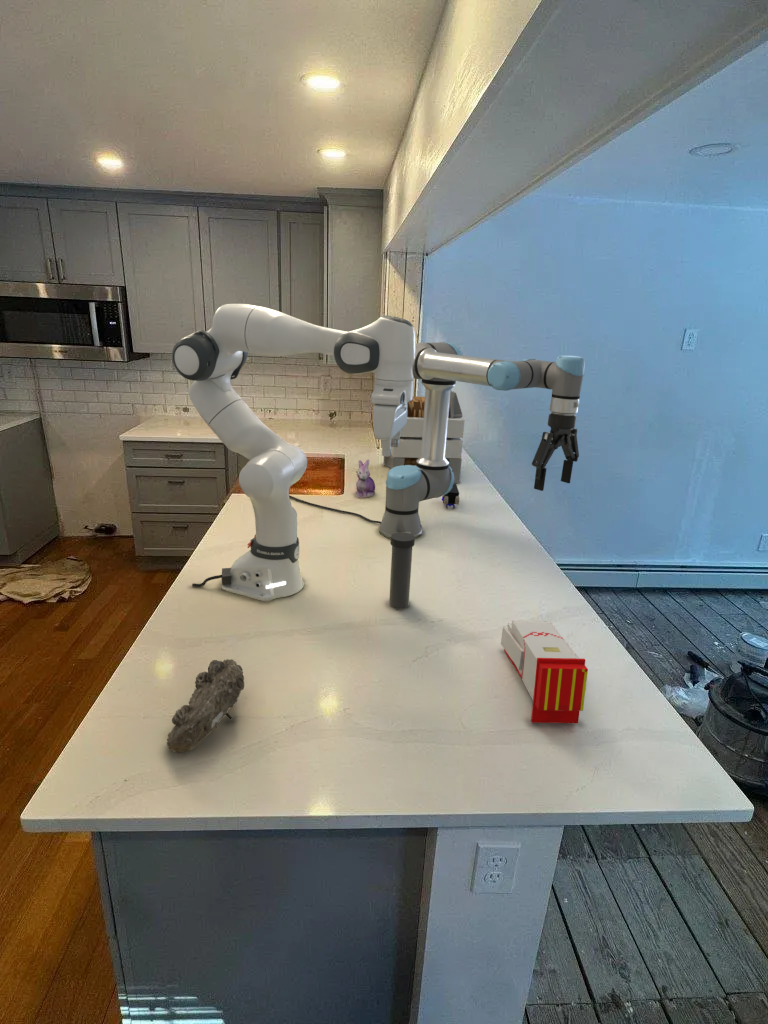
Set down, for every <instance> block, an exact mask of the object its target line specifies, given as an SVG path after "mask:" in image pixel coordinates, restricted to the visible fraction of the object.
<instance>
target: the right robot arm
mask: <svg viewBox="0 0 768 1024" xmlns="http://www.w3.org/2000/svg"><path fill="white" fill-rule="evenodd" d="M585 365H586V360H585V358H584V357H582V356H578V355H566V354H565V355H564V354H563V355H558V356H557V357H556V360H555V361H549V360H541V359H536V358H524V359H521V360H506V359H505V360H504V359H503V360H502V359H496V358H487V357H479V356H471V355H464V354H463V352H462V350H461V349H460V347H459V346H457V345H456V344H455V343H451V342H445V341H443V342H442V341H441V342H440V341H439V342H438V341H437V342H417V343H415V361H414V364H413V369H412V371H413V377H414V379H415V380H421V385H422V386H423V387H424V389H425V392H424V397H425V404H424V419H423V434H422V449H421V457H420V458H418V459H417V461H416V466H413V465H401V466H396V467H394V468H392V469H390V468H389V470H388V472H387V474H386V479H385V504H384V505H385V507H384V508H385V509H384V513H383V515H382V519H381V521H380V520H372V519H369V518H368V517H366V516H364V515H362V514H359V513H356V512H353V511H352V512H351V511H348V510H343V509H342V510H341V509H337V508H333V507H328V506H325V505H320V504H316V503H313V502H309V501H307V500H303V499H300V498H298V497H294V496H292V495H290V494H289V498H290V499H292V500H295V501H297V502H300V503H303V504H306V505H308V506H312V507H316V508H319V509H320V508H321V509H325V510H327V511H328V510H329V511H333V512H338V513H342V514H346V515H347V514H348V515H352V516H356V517H359V518H361V519H362V520H363V519H364V520H365V521H367V522H369V523H373V524H379V526H378V533H379V534H380V535H381V536H382V537H385V538H387V539H389V540H391V535H392V534H394V533H398V532H405V533H410V534H412V535H413V536H414V537H415V538H414V539H415V540H416V539H418V538H420V537H421V536H422V535H423V525H422V524H421V518H420V515H419V507H420V506H419V505H420V502H423V501H427V500H431V499H437V498H440V497H441V498H442V496H443V495H445V494H447V493H448V492H449V491H450V490H451V489H452V487H453V484H454V473H452V469H451V467H450V466H449V462H448V461H447V459H446V458H445V453H446V441H447V428H448V416H449V404H450V392H451V391H452V389H453V388H454V387H455V386H456V384H457V382H461V383H465V384H473V385H479V386H487V387H491V388H492V389H494V390H496V391H503V392H504V391H511V390H520V389H532V388H533V389H534V388H539V389H546V390H551V398H550V404H549V413H548V418H547V419H548V420H547V426H548V427H549V428H550V431H549V432H548V431H543V432H542V435H541V440H540V442H539V445H538V447H537V449H536V452H535V454H534V457H533V460H532V461H531V466H533V467H535V475H534V477H535V478H534V485H533V489H534V490H537V491H539V492H543V491H544V489H545V484H546V483H545V482H546V476H547V468H546V466H547V465H548V463H549V461H550V459H551V457H552V456H553V454H554V453H555V451H556V450H557V449H558V448H560V447H561V449H562V452H563V455H564V458H565V459H563V463H562V468H561V469H562V470H561V475H560V482H562V483H566V484H571V478H572V472H573V466H574V463H576V462H578V461H579V457H580V453H579V444H578V428H576V423H577V419H578V416H577V414H578V412H579V411H578V410H579V406H580V397H581V391H582V385H583V380H584V376H585Z"/></svg>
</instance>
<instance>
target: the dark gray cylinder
mask: <svg viewBox="0 0 768 1024" xmlns="http://www.w3.org/2000/svg"><path fill="white" fill-rule="evenodd" d="M412 558H413V547H411V548H407V549H401V548H396V547H393V546H392V545H391V558H390V559H391V561H390V578H389V579H390V582H389V597H388V599H389V601H388V605H389V607H390V608H393V609H395V610H404V609H407V608H408V607H409V605H410V593H411V591H410V590H411V577H412V562H413V561H412V560H413V559H412Z"/></svg>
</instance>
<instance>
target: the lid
mask: <svg viewBox="0 0 768 1024" xmlns="http://www.w3.org/2000/svg"><path fill="white" fill-rule="evenodd" d="M414 538H415V537H414V536H413V535H412V534H410V533H405V532H398V533H394V534H392V535H391V539H390V546H391V547H392V546H393V547H396V548H401V549H407V548H411V547H412V548H413V547H414V546H415V542H416V538H415V539H414Z"/></svg>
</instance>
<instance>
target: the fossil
mask: <svg viewBox="0 0 768 1024" xmlns="http://www.w3.org/2000/svg"><path fill="white" fill-rule="evenodd" d="M243 670H244V669H243V667H242V665H240V664H237V662H236V661H235V660H234V659H232V658H231V659H227V658H226V659H224V660H223V661H222V660H217V659H212V660H211V661H210V663H209V665H208V666H207V671H201V672H199V673H198V674H197V675H196V676H195V680H194V684H195V685H194V687H195V689H194V690H193V693H192V694H191V697H190V698H189V700H188V704H184V705H182V706H181V707H180V709H177V710H176V711H175V713H174V715H173V716H172V718H171V723H172V724H173V727H172V730H171V731H170V732H168V734H167V738H166V741H167V742H166V745H167V749H168V750H169V751H173V752H174V753H176V754H178V753H182V752H188V751H189V752H192V751H193V750H195V748H196V747H197V746H199V744H200V743H201V742H203V741H204V740H205V739H206V738H207V737H208V736H209V735H210V734H211V733H212V732H214V730H215V729H217V727H218V726H219V724H220V722H221V721H222V720H223V719H224V718H225V716H226V717H227V719H229V720H233V717H232V715H230V714H229V710H230V709H231V708H234V706H235V704H236V703H237V702H238V699H239V697H240V695H241V693H242V691H243V690H245V689H244V688H245V675H244V671H243Z"/></svg>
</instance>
